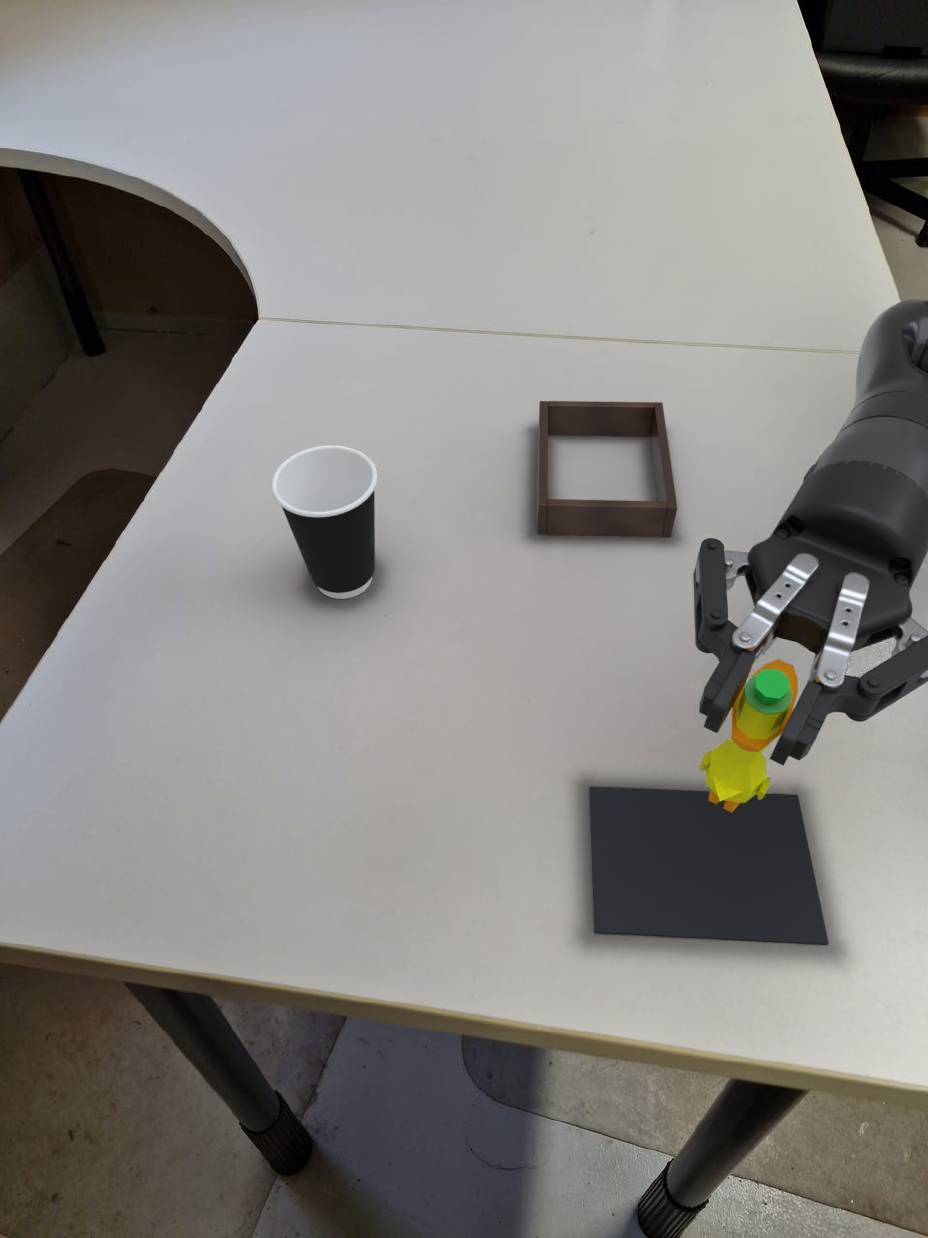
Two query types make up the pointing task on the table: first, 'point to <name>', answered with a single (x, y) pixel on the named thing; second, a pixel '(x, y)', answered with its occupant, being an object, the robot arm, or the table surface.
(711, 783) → the toy figure
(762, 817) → the rubber pad
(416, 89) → the table surface
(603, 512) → the tray box
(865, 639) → the robot arm
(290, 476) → the dixie cup
